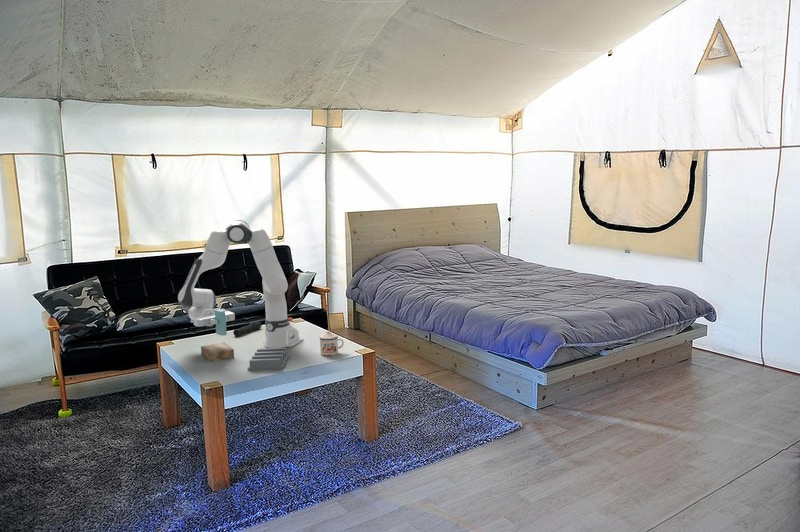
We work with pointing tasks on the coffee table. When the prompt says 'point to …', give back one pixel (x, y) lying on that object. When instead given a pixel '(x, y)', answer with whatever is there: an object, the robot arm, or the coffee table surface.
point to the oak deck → (217, 351)
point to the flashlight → (247, 328)
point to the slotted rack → (268, 359)
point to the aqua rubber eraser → (220, 322)
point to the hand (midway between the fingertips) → (221, 321)
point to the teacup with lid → (329, 344)
